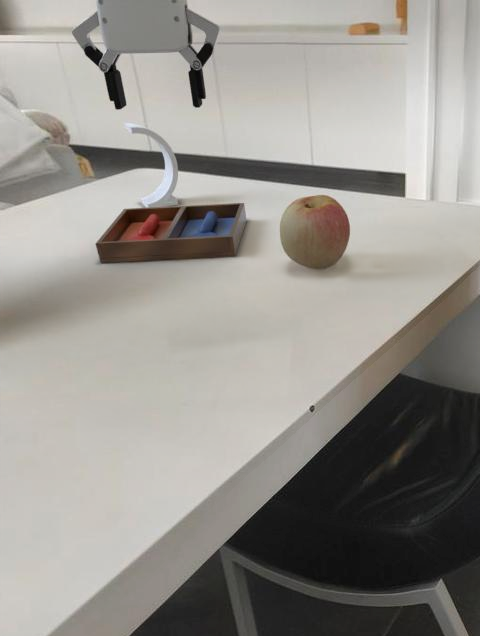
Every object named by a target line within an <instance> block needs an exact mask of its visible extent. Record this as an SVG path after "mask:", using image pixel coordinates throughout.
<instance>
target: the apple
mask: <svg viewBox="0 0 480 636" xmlns="http://www.w3.org/2000/svg"><path fill="white" fill-rule="evenodd" d="M350 235H351V225H350V220H349V217H348V214H347V212H346V210H345V209H344V207H343V206H342V205H341V203H340V202H339V201H337V200H336V199H335V198H334V197H331V196H330V195H326V194H317V195H309V196H304V197H303V196H302V197H300V198H298V199H295V200H294V201H292V202H291V203H289V204H288V206H287V207H286V208H285V210H284V211H283V213H282V215H281V218H280V223H279V238H280V243H281V244H280V245H281V247H282V249H283V251H284V253H285V254H286V256H287V257H288V258H289V259H290V260H292V261H293V262H295V263H296V264H298V265H300V266H303V267H306V268H309V269H315V270H326V269H329V268H331V267H332V266H334V265H336V263H337V262H339V261H340V259H341V258H342V257H343V256H344V253H345V252H346V250H347V248H348V244H349V242H350V241H349V240H350Z"/></svg>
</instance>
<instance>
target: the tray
mask: <svg viewBox="0 0 480 636" xmlns="http://www.w3.org/2000/svg"><path fill="white" fill-rule="evenodd" d="M210 211H213V212H215V213H216V214H217V221H216V223H215V225H214V228H213V230H212V233H215V234H216V235H217V236H209V237H190V238H189V236H190V235H193V234H195V233H199V229H200V227H201V225H202V223H203V221H204V219H205V217H206V215H207V213H208V212H210ZM246 213H247V212H246V205H245V202H235V203H234V202H231V203H213V204H195V205H190V204H189V205H173V206H167V207H150V208H146V207H134V208H131V207H129V208H124V209H122V211H121V212H120V213H119V214H118V216H116V218H115V219H114V220H113V222H112V223H111V224H110V225H109V226H108V228H107V229H106V230H105V231H104V232H103V234H102V235H101V236H100V237H99V239H98V240H96V242H95V247H96V251H97V254H98V258H99V262H100V264H107V263H109V264H111V263H126V262H128V263H129V262H149V261H165V260H167V261H168V260H182V259H183V260H186V259H203V258H204V259H205V258H224V257H225V258H227V257H236V255H237V252H238V249H239V246H240V243H241V240H242V236H243V233H244V230H245V227H246V224H247V214H246ZM151 214H156V215H157V216H158V217H159V219H160V222H159V224H158V226H157V227H156V229H155V230H154V232H153V233H152V235H151V236H153V237H154V238H155V239H150V240H130V241H126V240H127V239H129V238H131V237H134V236H138V232H139V230H140V229H141V227H142V226H143V224H144V223H145V222H146V220H147V219H148V217H149V216H150V215H151Z"/></svg>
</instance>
